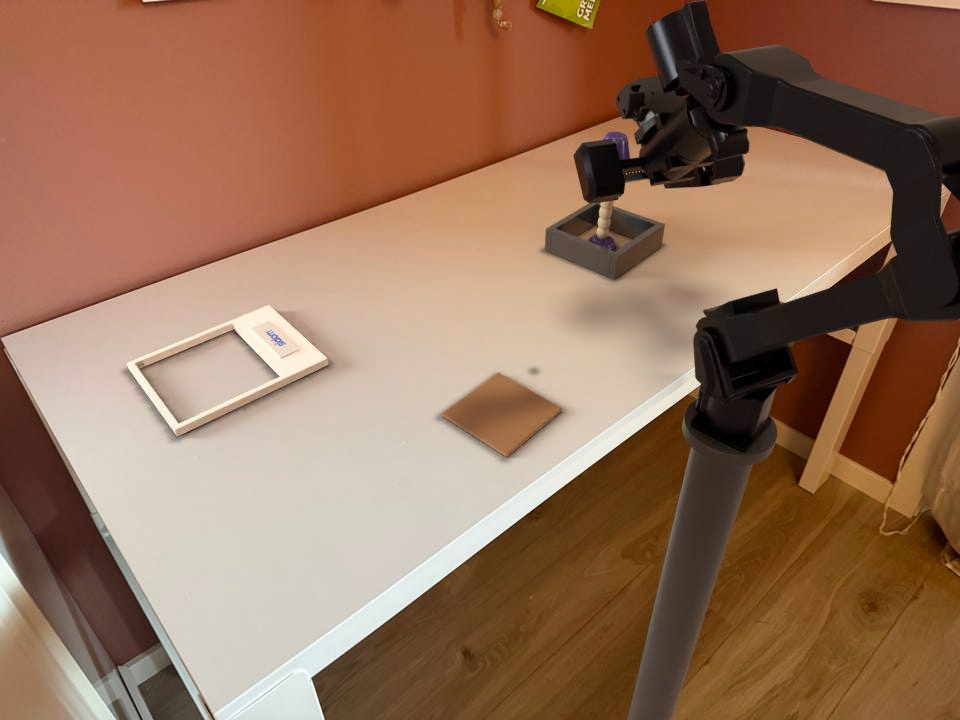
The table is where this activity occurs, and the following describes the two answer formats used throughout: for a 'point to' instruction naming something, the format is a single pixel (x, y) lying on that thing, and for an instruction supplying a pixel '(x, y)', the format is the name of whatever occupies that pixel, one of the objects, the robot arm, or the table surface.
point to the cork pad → (502, 414)
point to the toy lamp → (605, 209)
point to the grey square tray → (597, 257)
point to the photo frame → (266, 338)
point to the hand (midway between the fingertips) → (630, 189)
